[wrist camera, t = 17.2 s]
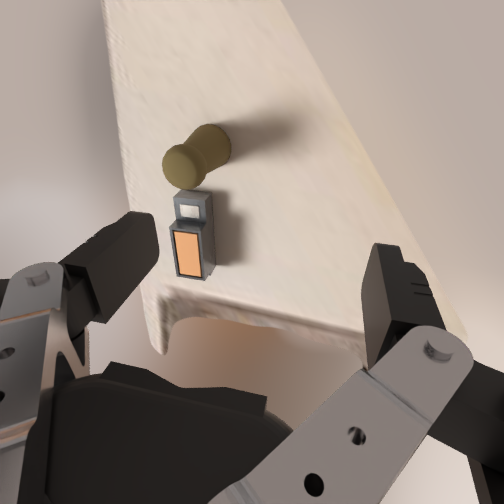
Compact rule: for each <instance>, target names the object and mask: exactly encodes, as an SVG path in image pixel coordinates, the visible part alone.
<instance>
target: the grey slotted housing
mask: <svg viewBox="0 0 504 504" xmlns="http://www.w3.org/2000/svg"><path fill="white" fill-rule="evenodd" d="M173 200H174V207H175V214H176V220H175V221H174V223H173V224H172V225H171V226H170V227H169V229H170V236H171V242H172V248H173V255H174V261H175V268H176V274H177V276H178V277H184V278H190V279H197V280H203V281H205V280H206V278H207V277H208V275H210V276H211V274H212V272H213V270H214V268H215V266H216V257H215V242H214V226H213V210H212V194H211V193H209V192H200V191H190V190H180V191H179V192H178V193H177V194H176V195H175V196H174V197H173ZM175 230H177V231H185V232H192V233H198V235H199V246H200V256H201V267H202V276H201V277H199V276H193V275H186V274H180V268H179V261H178V254H177V248H176V241H175V234H174V231H175Z"/></svg>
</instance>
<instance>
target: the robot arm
mask: <svg viewBox="0 0 504 504" xmlns="http://www.w3.org/2000/svg"><path fill="white" fill-rule="evenodd" d="M158 258H159V244H158V238H157V233H156V227H155V222H154V218H153V216H152V215H151V214H150V213H143V212H135V211H130V212H128V213H127V214H126V215H124V216H123V217H122V218H120V219H119V220H118V221H117V222H115V223H113V224H111V225H108V226H106V227H104V228H102V229H101V230H100V231H98V232H97V233H96V234H95V235H94V237H91V238H89V239H88V240H87V241H86V243H83V244H82V245H80V246H79V247H78V248H77V249H75V250H74V251H73V252H71V253H70V254H69V255H67V256H66V257H65V258H64V259H62V260H61V261H60V262H58V263H54V262H43V263H38V264H34V265H31V266H28V267H26V268H24V269H22V270H20V271H18V272H17V273H16V274H14V275H13V276H12V278H11V279H0V504H379V503H380V502H381V501H382V499H383V498H384V496H385V495H386V493H387V492H388V490H389V489H390V487H391V486H392V484H393V483H394V482H395V480H396V479H397V477H398V476H399V474H400V473H401V471H402V470H403V469H404V467H405V466H406V464H407V463H408V461H409V460H410V458H411V457H412V456H413V454H414V453H415V451H416V450H417V448H418V447H419V445H420V444H421V443H422V441H423V440H424V438H425V437H426V435H429V436H431V437H433V438H435V439H436V440H438V441H440V442H442V443H444V444H446V445H448V446H450V447H452V448H454V449H455V450H457V451H459V452H461V453H463V454H465V455H467V458H468V462H469V465H470V469H471V473H472V477H473V481H474V485H475V489H476V492H477V496H478V500H479V504H504V373H502V372H500V371H498V370H495V369H493V368H490V367H488V366H485V365H483V364H481V363H479V362H477V361H475V360H473V356H472V353H471V351H470V350H469V348H468V347H467V346H466V345H465V344H464V343H463V342H462V341H461V340H460V339H459V338H457V337H456V336H455V335H453V334H451V333H449V332H448V331H447V330H446V328H445V325H444V322H443V320H442V317H441V315H440V312H439V309H438V307H437V304H436V302H435V299H434V297H433V294H432V291H431V289H430V287H429V284H428V281H427V278H426V276H425V274H424V273H423V272H422V271H421V270H420V269H419V268H418V267H417V266H416V265H415V264H414V263H409V262H404V260H403V256H402V253H401V250H400V247H399V246H395V245H388V244H380V243H374V245H373V247H372V250H371V253H370V257H369V260H368V264H367V268H366V271H365V275H364V278H363V282H362V289H361V300H362V311H363V321H364V331H365V342H366V352H367V362H368V372H367V371H366V370H364V369H360V370H358V371H357V372H356V373H354V374H353V375H352V376H351V377H350V378H349V379H348V380H347V381H346V382H345V383H344V384H343V385H342V386H341V387H340V388H339V389H338V390H337V391H335V392H334V393H333V394H332V395H331V396H330V397H329V398H328V399H327V400H326V401H325V402H324V403H323V404H322V405H321V406H320V407H319V408H318V409H317V410H315V411H314V412H313V413H312V414H311V415H310V416H309V417H308V418H307V419H306V420H305V421H304V422H303V423H302V424H301V425H300V426H299V427H298V428H296V429H295V430H294V431H293V430H292V428H291V427H289V426H288V425H287V424H286V423H285V422H284V421H283V420H281V419H280V418H278V417H277V416H276V415H274V414H272V413H271V412H269V411H267V410H266V404H267V396H263V395H258V394H253V393H249V392H245V391H240V390H236V389H232V388H227V387H215V388H214V387H213V388H181V387H178V386H176V385H174V384H172V383H170V382H169V381H167V380H165V379H163V378H161V377H160V376H158V375H156V374H154V373H152V372H151V371H149V370H147V369H143V368H139V367H134V366H130V365H125V364H121V363H117V362H112V361H111V362H110V363H109V365H108V366H107V368H106V369H105V370H104V372H103V373H102V374H94V375H90V367H89V366H90V365H89V364H90V361H89V331H88V328H87V325H88V323H89V322H90V321H94V322H99V323H104V324H106V323H107V322H108V321H109V319H110V318H111V317H112V316H113V315H114V313H115V312H116V311H117V310H118V309H119V307H120V306H121V305H122V304H123V303H124V301H125V300H126V299H127V298H128V297H129V295H130V294H131V293H132V292H133V291H134V289H135V288H136V287H137V286H138V285H139V283H140V282H141V281H142V280H143V279H144V277H145V276H146V275H147V274H148V273H149V271H150V270H151V269H152V268H153V267H154V265H155V264H156V263H157V261H158Z"/></svg>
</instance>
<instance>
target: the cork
mask: <svg viewBox="0 0 504 504" xmlns="http://www.w3.org/2000/svg"><path fill="white" fill-rule="evenodd" d="M230 154H231V144H230V140H229V138H228V136H227V135H226V133H225V132H224V131H223V130H222V129H221V128H219V127H217V126H215V125H211V124H205V125H202V126H200V127H198V128H197V129H196V130H195V131H194V132H193V133H192V134H191V135H190V137H189V138H188V139H187V140H186V141H185V142H184V144H179V145H175V146H173V147H172V148H170V149H169V150H168V151H167V152H166V154H165V156H164V157H163V162H162V168H163V172H164V175H165V177H166V179H167V180H168V181H169V182H170V183H171V184H172V185H173V186H175V187H177V188H180V189H184V190H189V189H193V188H196V187H197V186H199V185H200V184H201V183H202V182H203V180H204V179H205V176H206V174H207V173H209V172H211V171H213V170H215V169H216V168H218V167H220V166H222V165H223V164H225V163H226V162H227V160H228V159H229V157H230Z"/></svg>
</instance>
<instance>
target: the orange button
mask: <svg viewBox="0 0 504 504" xmlns="http://www.w3.org/2000/svg"><path fill="white" fill-rule="evenodd" d="M174 234H175V241H176V248H177V254H178V261H179V268H180V274H186V275H193V276H199V277H201V276H202V267H201V256H200V246H199V235H198V233H192V232H185V231H177V230H175V231H174Z"/></svg>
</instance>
